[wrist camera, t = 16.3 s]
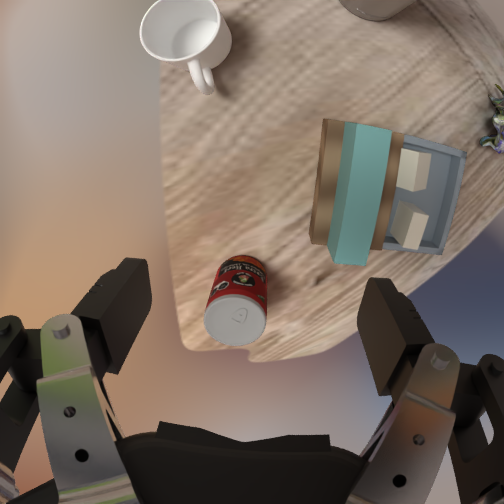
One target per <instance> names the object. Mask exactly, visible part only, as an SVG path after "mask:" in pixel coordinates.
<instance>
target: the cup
mask: <svg viewBox="0 0 504 504" xmlns="http://www.w3.org/2000/svg"><path fill="white" fill-rule="evenodd" d="M140 39H141V43H142V45H143V47H144V48H145V50H146V51H147V52H148V53H149V54H150V55H152V56H153V57H155V58H157V59H159V60H162V61H164V62H167V63H169V64H171V65H174V66H176V67H178V68H180V69H183V70H186V71H190V73H191V76H192V79H193V81H194V83H195V85H196V87H197V88H198V89H199V90H200V91H201V92H202V93H203V94H205V95H210V94H212V93H213V92H214V80H213V75H212V71H211V69H212V68H214V67H216V66H218V65H219V64H220V63H221V62H223V61H224V59H225V58H226V57H227V55H228V54H229V52H230V49H231V45H232V37H231V32H230V30H229V28H228V26H227V24H226V22H225V20H224V18H223V16H222V14H221V12H220V10H219V8H218V7H217V5H216V3H215V2H214V1H213V0H158V1H157V2H156V3H154V4H153V5H152V6H151V7H150V8H149V10H148V11H147V12H146V14H145V15H144V18H143V20H142V22H141V26H140Z"/></svg>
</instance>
